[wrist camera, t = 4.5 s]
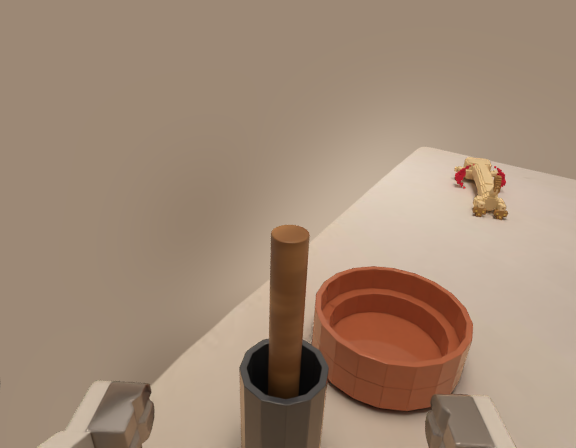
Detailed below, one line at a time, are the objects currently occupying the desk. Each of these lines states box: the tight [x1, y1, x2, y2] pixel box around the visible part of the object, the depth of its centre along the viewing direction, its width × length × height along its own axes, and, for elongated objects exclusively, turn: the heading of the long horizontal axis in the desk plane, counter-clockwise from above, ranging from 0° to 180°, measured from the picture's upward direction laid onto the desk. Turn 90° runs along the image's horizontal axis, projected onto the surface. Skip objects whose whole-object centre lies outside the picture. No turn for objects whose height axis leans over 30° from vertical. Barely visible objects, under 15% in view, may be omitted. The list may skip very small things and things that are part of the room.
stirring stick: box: [268, 225, 310, 399], centre depth 28 cm, size 2×2×20 cm
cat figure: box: [454, 157, 508, 220], centre depth 83 cm, size 10×9×25 cm
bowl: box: [312, 266, 473, 411], centre depth 42 cm, size 15×15×6 cm
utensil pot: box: [239, 339, 329, 448], centre depth 30 cm, size 6×6×10 cm
